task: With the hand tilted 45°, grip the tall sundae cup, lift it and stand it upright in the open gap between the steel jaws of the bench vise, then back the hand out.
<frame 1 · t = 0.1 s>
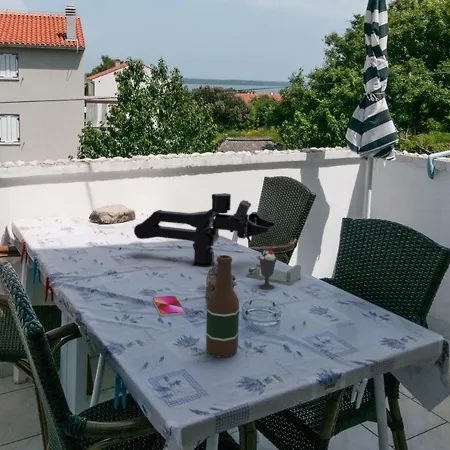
hand: (271, 227, 195), 17 cm above the table, tool horizontal, fingers open, 9 cm apart
beer bottle: (221, 351, 134), on the table
smartphone: (168, 308, 163), on the table
vise: (277, 278, 191), on the table
sundae: (266, 287, 182), on the table
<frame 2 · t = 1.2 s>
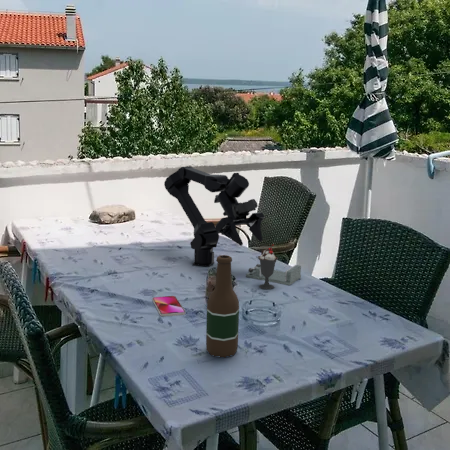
hand: (251, 242, 185), 13 cm above the table, tool tilted 45°, fingers open, 9 cm apart
nothing on the table moved.
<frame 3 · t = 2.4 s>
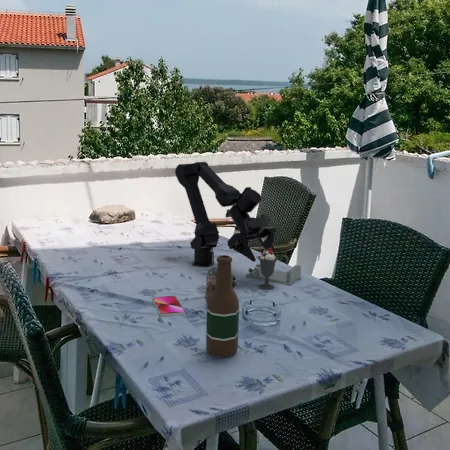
hand: (264, 258, 181), 9 cm above the table, tool tilted 45°, fingers open, 9 cm apart
nothing on the table moved.
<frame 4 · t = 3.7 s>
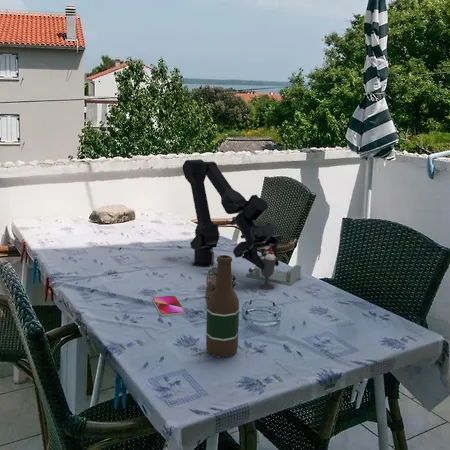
hand: (270, 267, 179), 7 cm above the table, tool tilted 45°, fingers closed on sundae, 6 cm apart
sundae: (266, 287, 182), on the table, touching gripper
everything else where it was.
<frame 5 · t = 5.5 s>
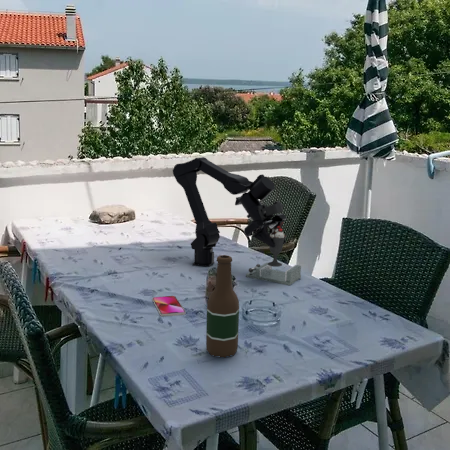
hand: (279, 245, 184), 13 cm above the table, tool tilted 45°, fingers closed on sundae, 6 cm apart
sundae: (274, 265, 186), point 6 cm above the table, touching gripper
everything else where it was.
when the fingers open (9 cm above the table, at t = 7.2 s): sundae drops 1 cm, resting on vise.
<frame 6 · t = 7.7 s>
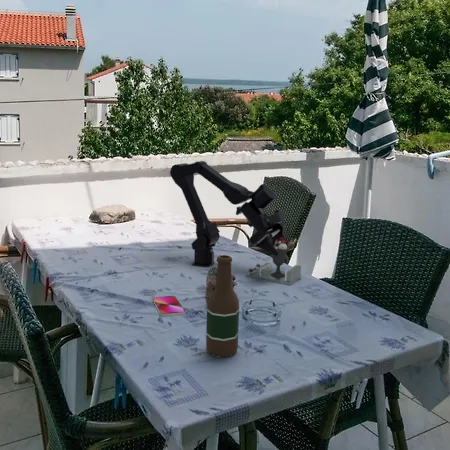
hand: (283, 252, 189), 10 cm above the table, tool tilted 45°, fingers open, 9 cm apart
sundae: (278, 275, 191), point 1 cm above the table, touching vise
everything else where it was.
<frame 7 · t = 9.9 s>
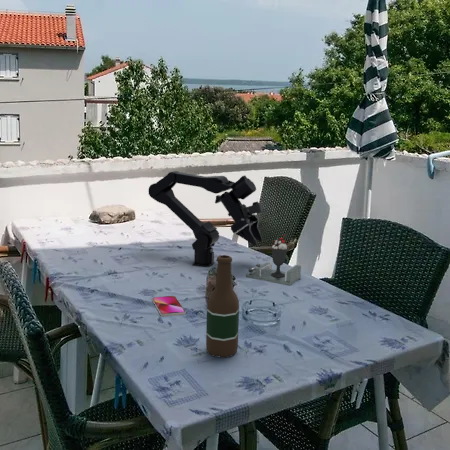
hand: (258, 242, 195), 11 cm above the table, tool tilted 40°, fingers open, 9 cm apart
nothing on the table moved.
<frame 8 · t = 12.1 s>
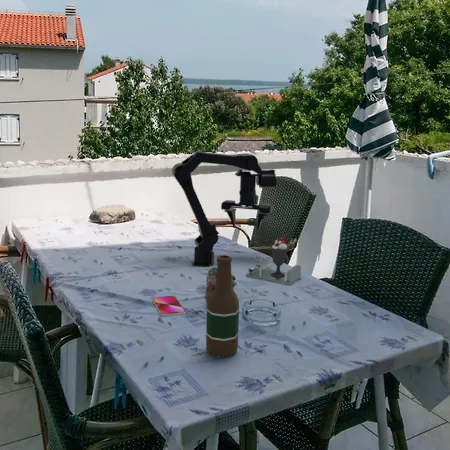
hand: (246, 229, 206), 13 cm above the table, tool pointing down, fingers open, 9 cm apart
nothing on the table moved.
at the end: sundae 0.2 cm off-centre on the vise, point 0.8 cm above the vise's base; sundae tilted 0°; the gripper is holding nothing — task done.
